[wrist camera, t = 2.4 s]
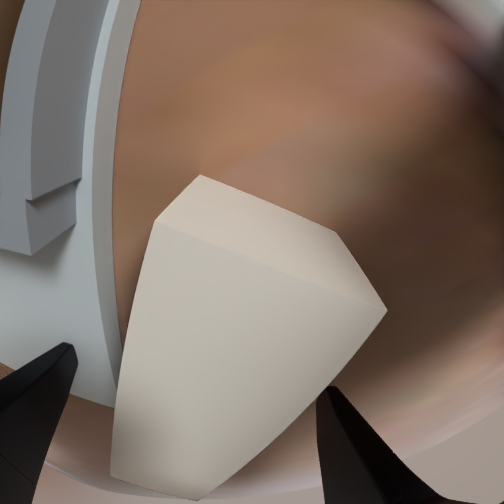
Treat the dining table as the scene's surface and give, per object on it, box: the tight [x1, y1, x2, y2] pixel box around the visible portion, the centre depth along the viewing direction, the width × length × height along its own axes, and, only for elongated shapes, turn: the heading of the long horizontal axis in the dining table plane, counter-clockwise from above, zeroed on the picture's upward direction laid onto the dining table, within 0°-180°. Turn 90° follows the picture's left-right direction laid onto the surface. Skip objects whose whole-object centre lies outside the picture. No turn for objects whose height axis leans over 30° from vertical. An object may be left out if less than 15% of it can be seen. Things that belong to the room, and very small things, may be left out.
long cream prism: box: [110, 175, 388, 501], centre depth 8 cm, size 4×12×4 cm, turn 157°
